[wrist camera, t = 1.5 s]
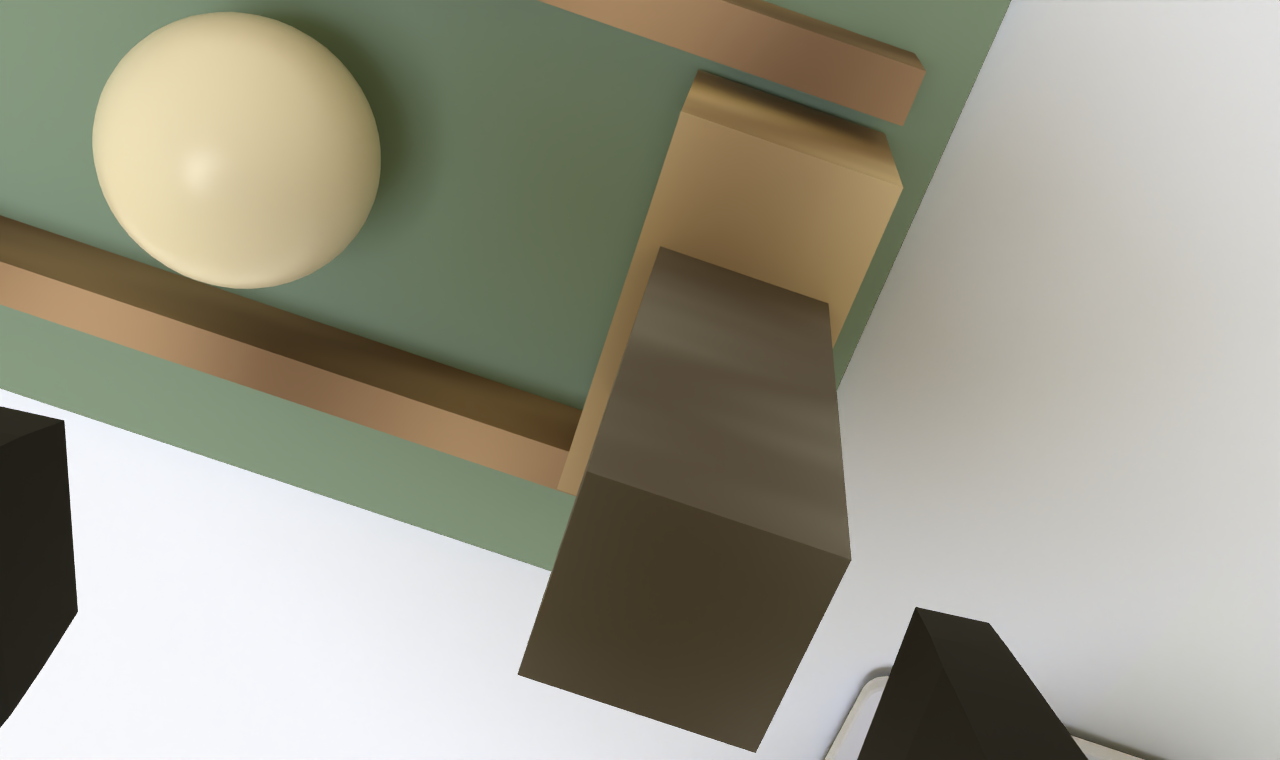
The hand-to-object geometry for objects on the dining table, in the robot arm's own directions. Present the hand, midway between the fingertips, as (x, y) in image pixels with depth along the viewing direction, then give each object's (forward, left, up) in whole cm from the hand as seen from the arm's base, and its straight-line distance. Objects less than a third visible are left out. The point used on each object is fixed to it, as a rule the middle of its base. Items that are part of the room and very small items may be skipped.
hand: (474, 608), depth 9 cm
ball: (+6, 0, -8) cm, 10 cm away
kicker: (-2, 0, -11) cm, 11 cm away
